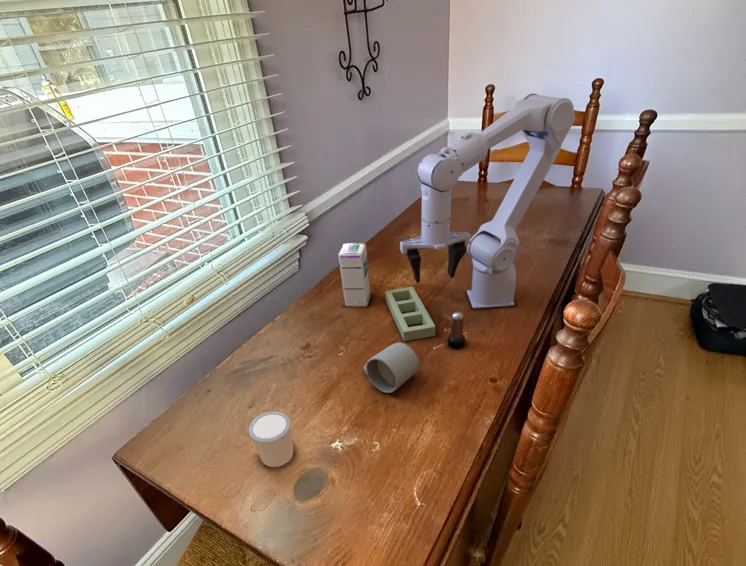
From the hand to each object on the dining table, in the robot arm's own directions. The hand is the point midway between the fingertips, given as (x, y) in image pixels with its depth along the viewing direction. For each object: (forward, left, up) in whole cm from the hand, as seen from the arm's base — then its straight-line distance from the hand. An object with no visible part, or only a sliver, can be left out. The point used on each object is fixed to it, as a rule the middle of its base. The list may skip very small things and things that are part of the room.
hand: (433, 278), depth 104 cm
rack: (+6, -1, -10) cm, 12 cm away
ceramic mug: (+12, +21, -11) cm, 26 cm away
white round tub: (+32, +39, -11) cm, 51 cm away
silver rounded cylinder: (-3, +11, -10) cm, 15 cm away
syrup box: (+18, -10, -11) cm, 23 cm away
